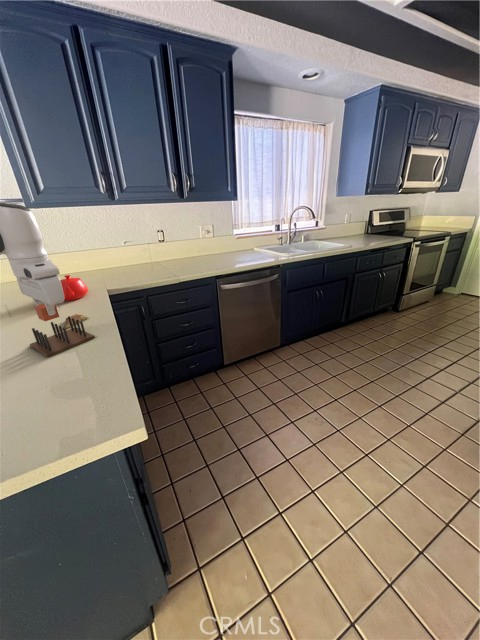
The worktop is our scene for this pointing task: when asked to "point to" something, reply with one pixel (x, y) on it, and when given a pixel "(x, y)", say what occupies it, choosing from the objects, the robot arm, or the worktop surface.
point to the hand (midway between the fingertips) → (47, 312)
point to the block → (45, 313)
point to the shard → (76, 317)
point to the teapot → (73, 288)
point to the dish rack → (60, 338)
